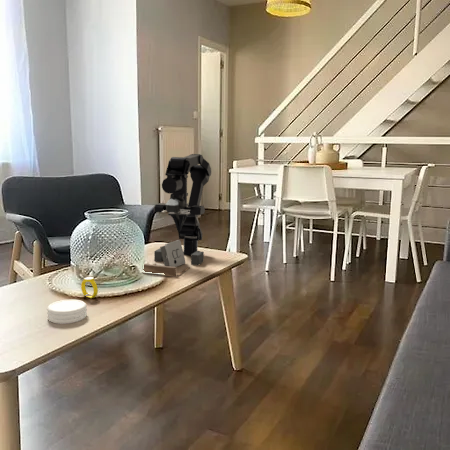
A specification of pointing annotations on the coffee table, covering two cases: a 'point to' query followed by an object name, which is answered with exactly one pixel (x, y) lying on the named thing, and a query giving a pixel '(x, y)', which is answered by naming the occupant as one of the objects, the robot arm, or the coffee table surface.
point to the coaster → (66, 311)
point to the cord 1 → (158, 255)
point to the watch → (95, 288)
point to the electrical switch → (173, 254)
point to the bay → (162, 269)
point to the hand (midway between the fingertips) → (179, 231)
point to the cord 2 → (197, 258)
